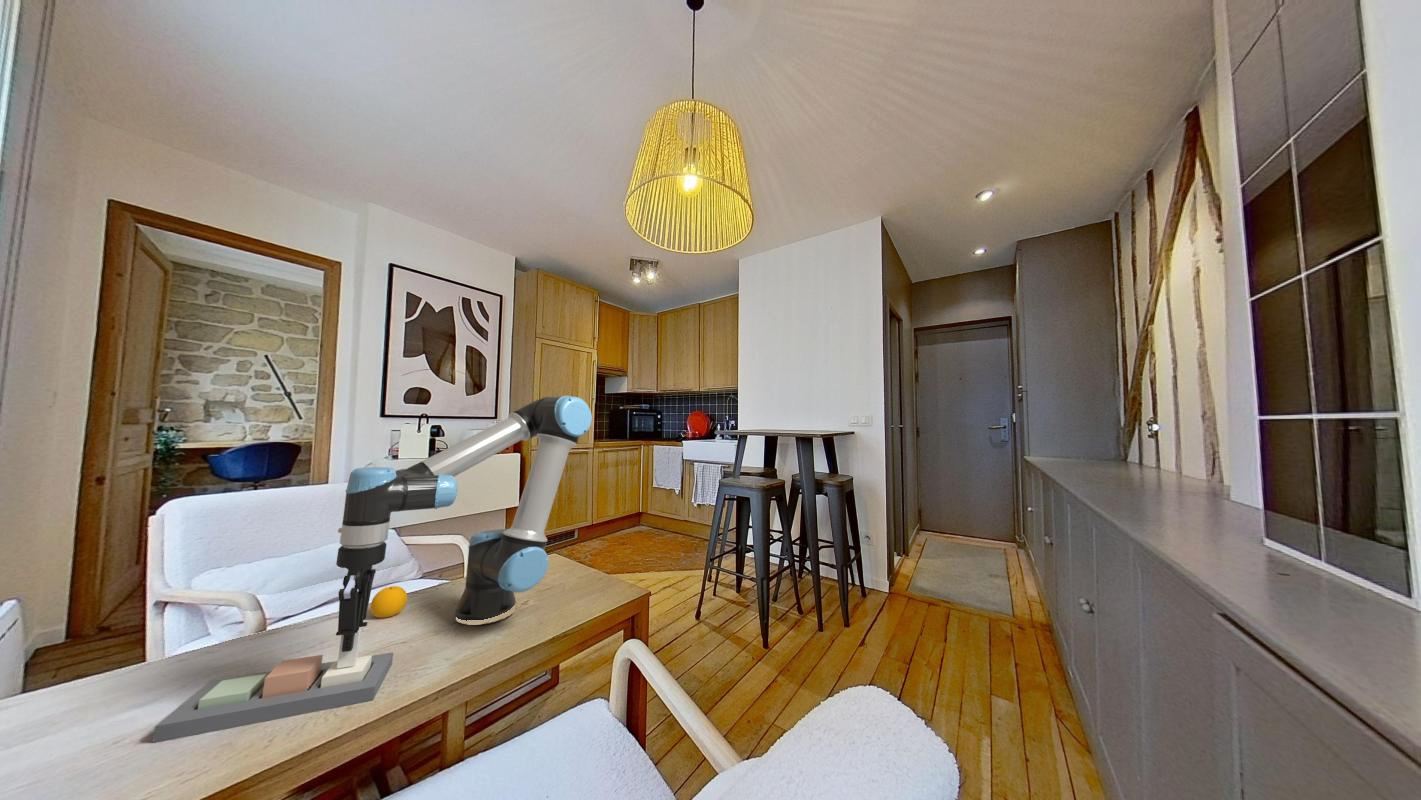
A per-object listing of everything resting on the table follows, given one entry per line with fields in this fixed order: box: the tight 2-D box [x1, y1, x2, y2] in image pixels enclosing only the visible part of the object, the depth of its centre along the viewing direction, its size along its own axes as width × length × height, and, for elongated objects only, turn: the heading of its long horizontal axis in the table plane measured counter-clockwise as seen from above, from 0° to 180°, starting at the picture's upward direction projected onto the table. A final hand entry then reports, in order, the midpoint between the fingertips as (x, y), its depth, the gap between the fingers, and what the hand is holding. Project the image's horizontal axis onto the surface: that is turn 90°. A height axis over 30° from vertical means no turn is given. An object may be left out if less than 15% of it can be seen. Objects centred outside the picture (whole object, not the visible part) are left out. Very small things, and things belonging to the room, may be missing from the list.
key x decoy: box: [262, 654, 324, 698], centre depth 76 cm, size 6×6×4 cm
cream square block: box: [321, 654, 372, 688], centre depth 79 cm, size 6×6×4 cm
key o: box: [198, 674, 267, 709], centre depth 72 cm, size 6×6×4 cm
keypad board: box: [152, 652, 394, 744], centre depth 76 cm, size 28×13×2 cm, turn 116°
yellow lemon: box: [370, 585, 408, 619], centre depth 111 cm, size 8×8×8 cm
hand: (347, 664), depth 80 cm, fingers closed
